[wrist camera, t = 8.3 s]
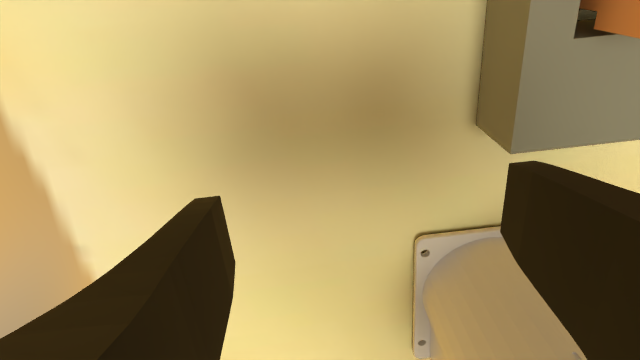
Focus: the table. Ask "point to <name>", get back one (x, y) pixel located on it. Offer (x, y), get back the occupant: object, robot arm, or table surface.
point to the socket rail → (555, 78)
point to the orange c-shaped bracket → (615, 16)
